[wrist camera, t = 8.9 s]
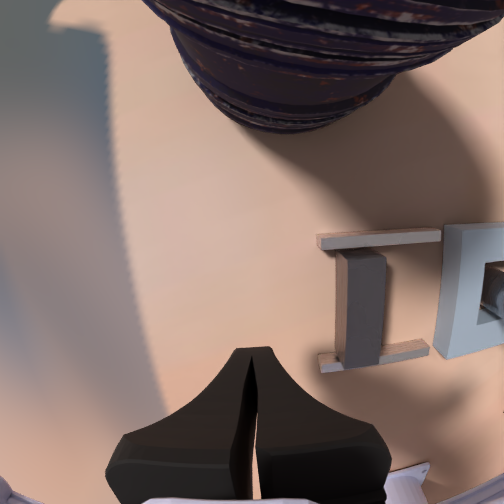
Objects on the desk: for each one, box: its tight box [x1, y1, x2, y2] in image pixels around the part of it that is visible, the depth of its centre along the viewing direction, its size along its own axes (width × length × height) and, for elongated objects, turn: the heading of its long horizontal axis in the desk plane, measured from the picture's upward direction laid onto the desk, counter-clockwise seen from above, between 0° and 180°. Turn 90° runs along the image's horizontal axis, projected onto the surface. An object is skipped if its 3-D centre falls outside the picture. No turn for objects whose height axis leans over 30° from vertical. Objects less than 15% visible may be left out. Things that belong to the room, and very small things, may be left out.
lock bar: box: [335, 247, 386, 370], centre depth 16 cm, size 6×2×2 cm, turn 4°
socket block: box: [433, 222, 504, 360], centre depth 16 cm, size 8×8×2 cm
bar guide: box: [317, 227, 441, 373], centre depth 17 cm, size 8×7×1 cm
